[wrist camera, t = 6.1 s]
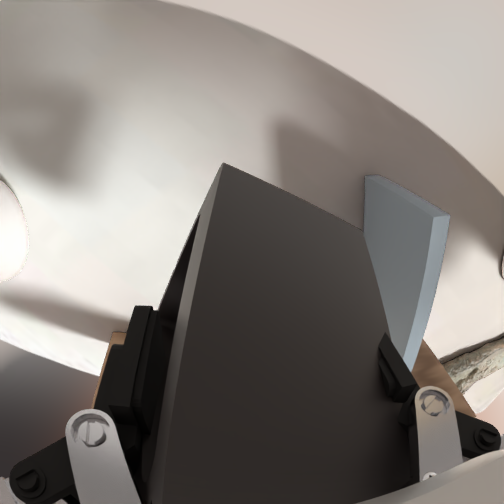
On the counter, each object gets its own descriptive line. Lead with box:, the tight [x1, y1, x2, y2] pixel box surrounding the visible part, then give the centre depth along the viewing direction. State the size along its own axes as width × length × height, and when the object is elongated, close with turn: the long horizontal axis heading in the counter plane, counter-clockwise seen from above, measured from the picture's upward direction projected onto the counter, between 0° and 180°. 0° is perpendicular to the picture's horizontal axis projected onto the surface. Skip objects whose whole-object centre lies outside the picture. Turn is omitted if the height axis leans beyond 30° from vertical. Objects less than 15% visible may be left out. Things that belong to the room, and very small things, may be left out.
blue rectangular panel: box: [363, 175, 450, 372], centre depth 26 cm, size 20×2×10 cm, turn 6°
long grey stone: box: [442, 337, 504, 395], centre depth 43 cm, size 35×5×10 cm
